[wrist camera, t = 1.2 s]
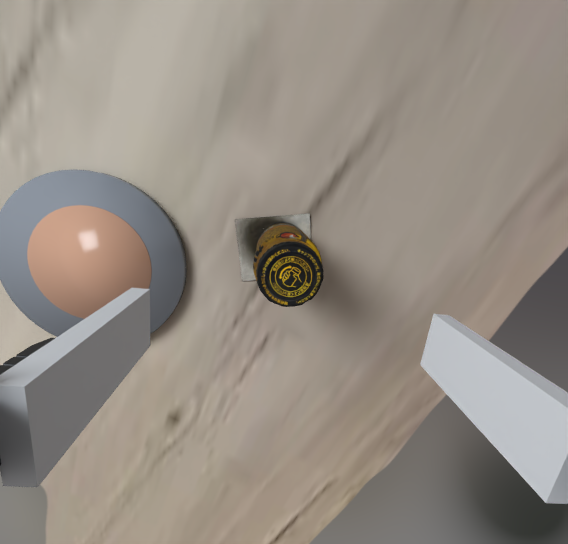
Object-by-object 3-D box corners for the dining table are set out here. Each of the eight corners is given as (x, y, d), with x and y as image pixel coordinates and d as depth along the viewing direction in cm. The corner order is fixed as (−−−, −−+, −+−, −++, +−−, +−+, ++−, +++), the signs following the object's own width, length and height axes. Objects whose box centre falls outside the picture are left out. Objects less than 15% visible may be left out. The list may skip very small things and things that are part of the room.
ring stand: (-9, 158, 29) (-22, 156, 28) (189, 183, 31) (186, 183, 29) (14, 335, 34) (4, 340, 33) (183, 348, 36) (180, 354, 34)
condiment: (312, 274, 34) (335, 314, 23) (242, 280, 34) (228, 324, 22) (309, 213, 32) (332, 222, 21) (235, 219, 32) (216, 231, 20)
